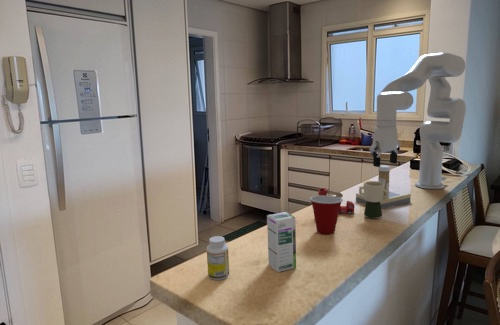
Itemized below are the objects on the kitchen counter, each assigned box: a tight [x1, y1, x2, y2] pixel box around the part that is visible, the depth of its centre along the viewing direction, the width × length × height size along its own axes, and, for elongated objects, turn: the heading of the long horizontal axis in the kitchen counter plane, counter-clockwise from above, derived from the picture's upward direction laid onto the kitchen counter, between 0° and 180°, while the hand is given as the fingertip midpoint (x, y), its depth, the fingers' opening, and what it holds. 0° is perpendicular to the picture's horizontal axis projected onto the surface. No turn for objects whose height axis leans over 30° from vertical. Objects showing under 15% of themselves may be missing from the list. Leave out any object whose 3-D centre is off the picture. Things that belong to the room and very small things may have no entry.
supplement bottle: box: [206, 235, 230, 281], centre depth 92 cm, size 6×6×10 cm
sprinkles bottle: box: [377, 164, 391, 196], centre depth 149 cm, size 5×5×14 cm
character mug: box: [358, 180, 390, 219], centre depth 132 cm, size 11×7×13 cm, turn 53°
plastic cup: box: [309, 195, 344, 236], centre depth 119 cm, size 11×11×12 cm
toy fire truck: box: [318, 187, 355, 215], centre depth 138 cm, size 3×14×10 cm, turn 84°
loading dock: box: [355, 191, 412, 210], centre depth 151 cm, size 18×13×4 cm
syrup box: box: [266, 211, 297, 273], centre depth 96 cm, size 6×6×14 cm
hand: (385, 164), depth 148 cm, fingers open, 9 cm apart
